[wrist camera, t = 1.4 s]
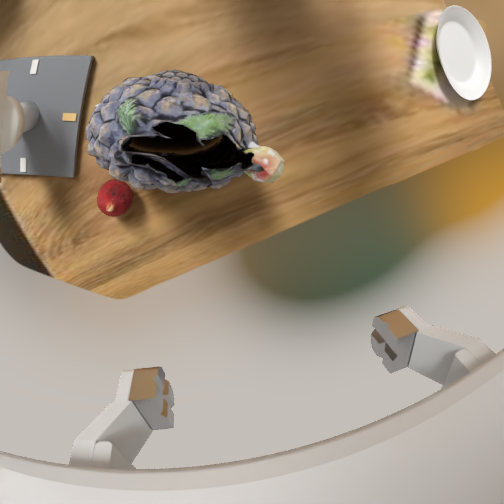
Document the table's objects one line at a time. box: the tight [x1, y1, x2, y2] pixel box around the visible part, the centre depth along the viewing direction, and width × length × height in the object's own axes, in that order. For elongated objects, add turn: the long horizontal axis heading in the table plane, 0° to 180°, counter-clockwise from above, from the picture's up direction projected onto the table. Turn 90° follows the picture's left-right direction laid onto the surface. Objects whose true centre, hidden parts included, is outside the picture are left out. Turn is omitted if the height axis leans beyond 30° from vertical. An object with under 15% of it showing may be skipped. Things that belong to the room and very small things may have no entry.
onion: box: [97, 179, 132, 217], centre depth 42 cm, size 6×6×8 cm
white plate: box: [436, 6, 491, 100], centre depth 43 cm, size 25×25×4 cm
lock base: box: [0, 56, 94, 178], centre depth 29 cm, size 20×20×10 cm
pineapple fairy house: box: [86, 70, 284, 194], centre depth 32 cm, size 21×15×25 cm
